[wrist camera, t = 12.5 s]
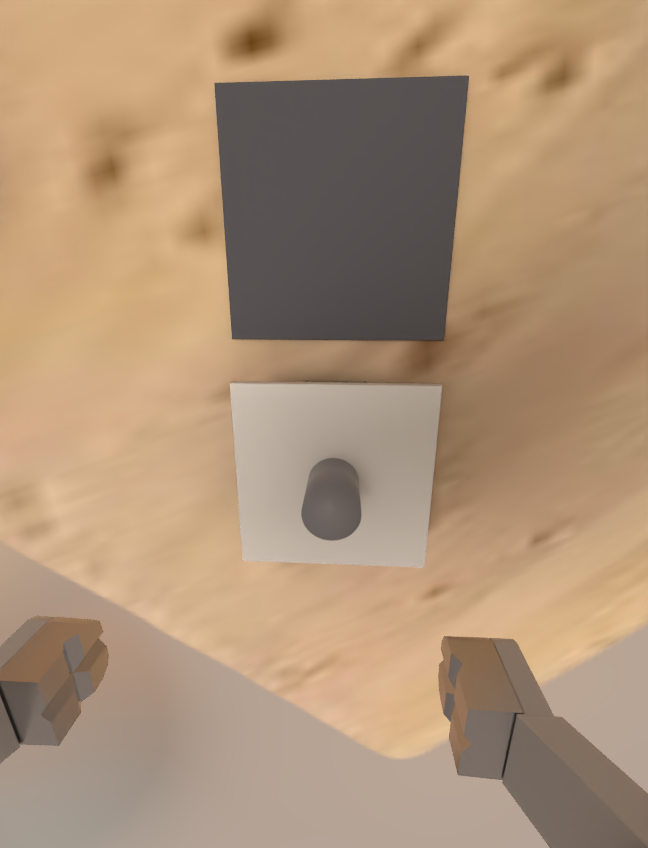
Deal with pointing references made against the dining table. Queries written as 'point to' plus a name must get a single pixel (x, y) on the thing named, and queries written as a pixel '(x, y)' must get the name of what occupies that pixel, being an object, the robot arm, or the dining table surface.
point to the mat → (340, 205)
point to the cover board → (342, 432)
